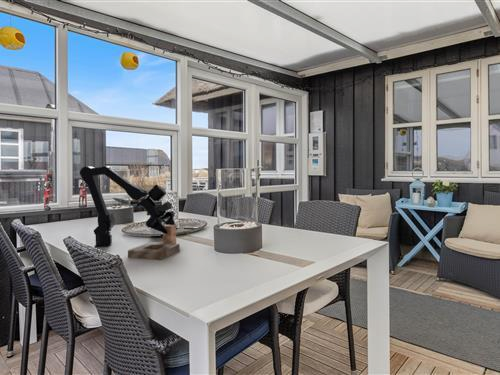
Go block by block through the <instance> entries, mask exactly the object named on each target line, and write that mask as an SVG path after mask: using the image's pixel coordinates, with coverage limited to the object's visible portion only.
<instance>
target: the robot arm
mask: <svg viewBox="0 0 500 375" xmlns="http://www.w3.org/2000/svg"><path fill="white" fill-rule="evenodd" d="M79 175H80V178H81V179H82V180H83V182H84V183H85V184H86V185H87V187H88V190H89V193H90V195H91V199H92V201H93V204H94V207H95V210H96V212H97V226H96V227H95V228H94V229H93V233H94V235H95V245H94V247H95V248H97V247H110V245H111V246H112V244H113V237H112V234H111V231H112V228H113V227H114V226H115V225H116V224H115V223H116V218H115V216H114V213H113V212H109V211H108V209H107V205H106V203H105V200H104V197H103V194H102V191H101V188H100V185H99V176H103V175H105V177H107V178H109V179H110V181H113V182H114V183H115V184H117V186H119V187H120V188H122V189H123V190H124V191H125V193H126V194H127V195H128V196H129V197H130V199H132V200H133V201H136V205H135V206H136V208H139V209H140V208H143V210H144V211H145V212H146V215H147V216H148V217H149V218H148V219H147V220H146V221H145V226H146V227H147V228H148V229H149V228H152V229H155V230H158V231H160V232H163V233H165V234H167V233H168V232H167V230H166V229H165V227H164V226H163V225H162V223H161V220H162V221H163V222H165V225H167V224H170V225H176V222H175V220H174V217H175V211H173V210H171V209H173V203H172V202H170V201H166V202H164V203H163V204H160V205H159V204H157V203H156V202H160V201H161V200H162V198H164V197H165V196H166V194H167V191H166V190H165V189H164V188H163V187H162V186H160V185H159V184H158V183H156V184H155V185H154V186H153V187H152V188H151V189H150V190H145V189H143V188H142V187H140V186H138V185H136V184H134V183H131V182H130V181H128V180H127V179H126V178H125V177H123V176H122V175H121V174H119V173H118V172H117V171H115V170H114V169H113V168H112V167H111V166H109V165H108V166H107V165H105V166H101V167H100V166H99V167H94V166H90V165H89V166H82V167H81V168H80V170H79ZM150 216H151V217H150ZM177 230H178V228H177V225H176V231H177Z"/></svg>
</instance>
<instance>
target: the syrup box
mask: <svg viewBox="0 0 500 375" xmlns="http://www.w3.org/2000/svg"><path fill="white" fill-rule="evenodd" d="M150 217H151V216H150V215H149V218H150ZM161 223H162V225H163V226H164V225H166V224H165V222H163V221H162V220H161ZM149 228H150V227H149ZM149 231H150V234H151V233H153V234H161V233H163V232H160V231H158V230H155V229H152V228H150V230H149Z"/></svg>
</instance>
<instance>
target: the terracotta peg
mask: <svg viewBox="0 0 500 375" xmlns="http://www.w3.org/2000/svg"><path fill="white" fill-rule="evenodd" d="M164 227H165V229H166V230H167V232H168V233H167V234H165V233H163V236H162V243H172V244H177V230H176V227H177V225H170V224H167V225H166V224H165V225H164Z"/></svg>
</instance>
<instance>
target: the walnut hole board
mask: <svg viewBox="0 0 500 375" xmlns="http://www.w3.org/2000/svg"><path fill="white" fill-rule="evenodd" d="M180 250H181V248H180V243H176V244H172V243H163V242H158V241H157V242H156V241H153V242H151V241H148V242H145V243H143V244H140V245H138V246H135V247H133V248H130V249H128V250H127V258H133V259H134V258H135V259H142V260H143V259H144V260H157V261H158V260H159V261H162V260H163V259H164V260H165V259H166V258H168V257H170V256H171V255H174V254H176V253H177V252H179V251H180Z"/></svg>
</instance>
